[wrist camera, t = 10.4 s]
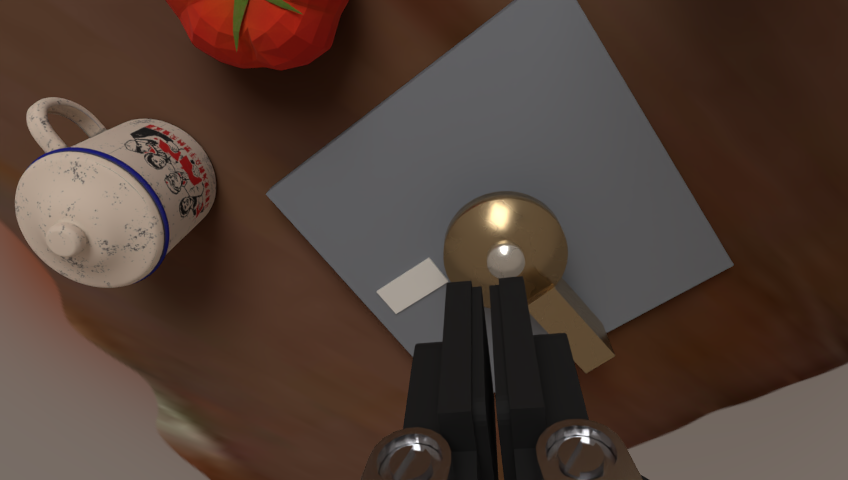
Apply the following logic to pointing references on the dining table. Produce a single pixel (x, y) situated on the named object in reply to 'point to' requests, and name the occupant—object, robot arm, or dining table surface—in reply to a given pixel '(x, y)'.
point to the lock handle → (524, 266)
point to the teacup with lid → (110, 195)
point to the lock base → (505, 176)
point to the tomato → (261, 30)
